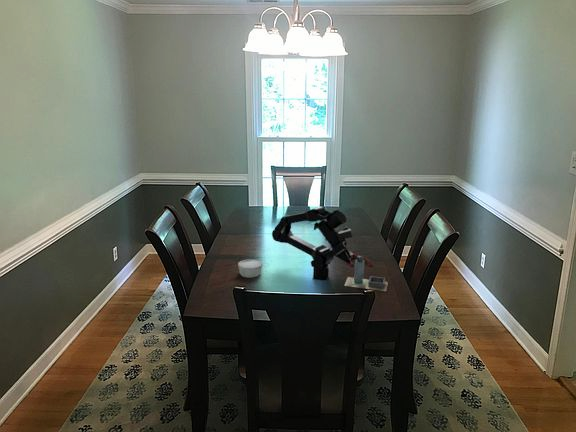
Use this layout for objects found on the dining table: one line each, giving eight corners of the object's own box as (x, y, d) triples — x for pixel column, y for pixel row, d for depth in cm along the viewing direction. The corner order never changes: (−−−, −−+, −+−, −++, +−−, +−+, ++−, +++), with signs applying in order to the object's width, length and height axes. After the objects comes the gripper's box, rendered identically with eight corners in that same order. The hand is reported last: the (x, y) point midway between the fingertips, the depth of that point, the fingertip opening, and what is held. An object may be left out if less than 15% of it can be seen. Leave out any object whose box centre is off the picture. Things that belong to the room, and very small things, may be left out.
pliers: (356, 252, 244) (356, 248, 243) (372, 266, 225) (372, 261, 225) (335, 254, 241) (336, 249, 240) (350, 268, 222) (350, 263, 222)
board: (344, 286, 201) (344, 285, 201) (347, 277, 210) (348, 276, 210) (386, 291, 196) (386, 291, 196) (387, 282, 205) (387, 282, 205)
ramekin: (252, 267, 220) (252, 257, 219) (267, 274, 212) (267, 264, 211) (233, 273, 213) (233, 262, 212) (247, 281, 205) (247, 270, 204)
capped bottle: (353, 283, 203) (354, 257, 199) (354, 279, 206) (356, 254, 203) (362, 284, 202) (364, 258, 198) (363, 280, 205) (365, 255, 202)
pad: (351, 284, 202) (351, 283, 202) (353, 279, 207) (353, 278, 207) (364, 286, 201) (364, 285, 201) (365, 281, 206) (365, 280, 206)
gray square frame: (368, 287, 200) (368, 281, 199) (369, 281, 206) (370, 276, 205) (383, 289, 198) (384, 283, 197) (384, 283, 204) (385, 277, 203)
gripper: (343, 225, 191) (365, 255, 192) (344, 218, 210) (364, 245, 210) (322, 240, 194) (344, 270, 194) (325, 232, 212) (345, 259, 212)
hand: (350, 260), depth 203 cm, fingers open, 9 cm apart
